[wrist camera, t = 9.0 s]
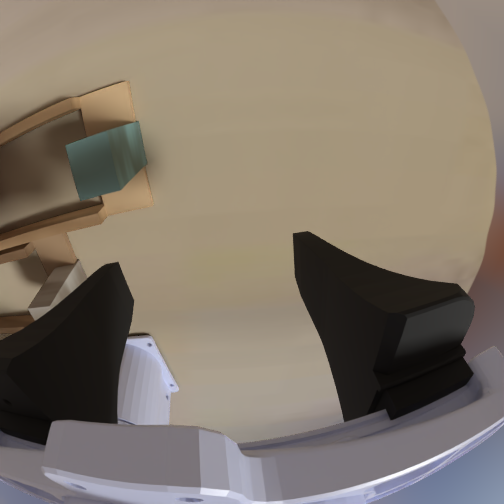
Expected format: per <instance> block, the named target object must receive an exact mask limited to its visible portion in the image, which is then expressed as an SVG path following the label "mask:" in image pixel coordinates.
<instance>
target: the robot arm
mask: <svg viewBox="0 0 504 504" xmlns="http://www.w3.org/2000/svg"><path fill="white" fill-rule="evenodd" d="M293 245H294V267H295V278H296V281H297V285H298V288H299V291H300V294H301V297H302V299H303V301H304V303H305V306H306V308H307V310H308V312H309V314H310V316H311V319H312V321H313V323H314V325H315V327H316V329H317V331H318V334H319V336H320V338H321V341H322V343H323V346H324V349H325V352H326V355H327V358H328V361H329V365H330V368H331V371H332V375H333V378H334V382H335V386H336V389H337V393H338V397H339V401H340V405H341V409H342V414H343V418H344V423H340V424H336V425H333V426H329V427H325V428H321V429H317V430H313V431H309V432H304V433H300V434H295V435H290V436H285V437H279V438H274V439H268V440H261V441H255V442H247V443H239V444H236V443H235V442H234V441H232V440H231V439H229V438H228V437H227V436H225V435H224V434H222V433H221V432H218V431H214V430H210V429H206V428H202V427H198V426H183V425H169V414H170V397H171V392H177V391H179V387H178V385H177V383H176V382H175V380H174V378H173V376H172V374H171V373H170V371H169V369H168V367H167V365H166V363H165V361H164V359H163V357H162V356H161V354H160V352H159V350H158V348H157V346H156V344H155V342H154V340H153V338H152V337H151V336H149V335H143V336H132V337H128V334H129V330H130V326H131V322H132V315H133V306H134V299H133V297H132V295H131V292H130V290H129V287H128V285H127V283H126V280H125V278H124V275H123V273H122V270H121V268H120V265H119V262H115V263H109V264H105V265H104V266H102V267H101V268H99V269H98V270H97V271H96V272H94V273H93V274H92V275H91V276H90V277H88V278H87V279H86V280H85V281H84V282H83V283H82V284H80V285H79V286H78V287H77V288H76V289H75V290H74V291H73V292H71V293H70V294H69V295H68V296H67V297H65V298H64V299H63V300H62V301H61V302H60V303H58V304H57V305H56V306H55V307H53V308H52V309H51V310H50V311H48V312H47V313H46V314H44V315H43V316H41V317H40V318H39V319H37V320H35V321H34V322H32V323H31V324H29V325H28V326H26V327H25V328H23V329H21V330H20V331H18V332H16V333H14V334H12V335H10V336H8V337H6V338H5V339H2V340H0V480H1V481H2V482H4V483H6V484H8V485H10V486H12V487H14V488H16V489H18V490H20V491H23V492H25V493H27V494H29V495H32V496H34V497H36V498H39V499H41V500H44V501H46V502H49V503H51V504H367V503H370V502H373V501H375V500H378V499H380V498H383V497H385V496H387V495H390V494H392V493H394V492H396V491H399V490H401V489H403V488H405V487H407V486H409V485H411V484H413V483H415V482H417V481H419V480H421V479H423V478H425V477H427V476H429V475H431V474H432V473H434V472H436V471H438V470H440V469H441V468H443V467H445V466H446V465H448V464H450V463H451V462H453V461H454V460H456V459H458V458H459V457H461V456H462V455H464V454H465V453H467V452H468V451H470V450H471V449H473V448H474V447H476V446H477V445H479V444H480V443H482V442H483V441H484V440H486V439H487V438H488V437H490V436H491V435H492V434H494V433H495V432H496V431H497V430H498V429H499V428H500V427H501V426H502V425H503V424H504V357H503V355H502V354H501V353H500V352H499V350H498V349H497V348H496V346H493V347H491V348H489V349H488V350H486V351H484V352H482V353H481V354H479V355H477V356H475V357H474V358H473V359H472V360H471V361H470V362H469V363H468V364H467V363H466V361H465V360H464V358H463V356H464V355H465V354H466V351H465V349H464V348H463V347H462V345H461V343H462V341H463V339H464V337H465V335H466V333H467V331H468V329H469V327H470V324H471V322H472V319H473V316H474V308H475V306H474V302H473V300H472V299H471V298H470V297H469V296H468V295H467V293H466V292H465V291H464V290H463V289H462V288H461V287H460V286H459V285H458V284H454V283H445V282H436V281H429V280H424V279H419V278H414V277H409V276H405V275H402V274H398V273H395V272H391V271H388V270H385V269H382V268H379V267H377V266H374V265H372V264H369V263H367V262H364V261H362V260H360V259H358V258H356V257H354V256H352V255H350V254H348V253H346V252H344V251H342V250H340V249H338V248H337V247H335V246H333V245H331V244H330V243H328V242H326V241H325V240H323V239H321V238H319V237H318V236H316V235H314V234H312V233H311V232H308V231H306V232H299V233H293ZM149 343H150V344H149Z"/></svg>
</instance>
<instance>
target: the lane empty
mask: <svg viewBox="0 0 504 504" xmlns="http://www.w3.org/2000/svg"><path fill="white" fill-rule="evenodd" d="M35 249H36V251H37V254H38V256H39V258H40V260H41V263H42V265H43V267H44V269H45V271H46V273H47V275H48V279H47V280H46V282H45V283H44V284H43V286H42V287H41V289H40V290H39V292H38V293H37V295H36V296H35V298H34V299H33V301H32V302H31V304H30V306H29V307H28V310H29V312H30V313H31V315H19V316H6V317H0V334H5V333H16V332H18V331H20V330H21V329H23V328H25V327H26V326H28V325H29V324H31V323H32V322H34V321H35V320H37V319H39V318H40V317H41V316H43V315H44V314H46V313H47V312H48V311H50V310H51V309H52V308H53V307H55V306H56V305H57V304H58V303H60V302H61V301H62V300H63V299H64V298H65V297H67V296H68V295H69V294H70V293H71V292H73V291H74V290H75V289H76V288H77V287H78V286H79V285H80V284H82V283H83V282H84V281H85V280H86V279H87V277H86V274H85V272H84V270H83V268H82V265H81V263H80V261H79V260H77V258H76V256H75V253H74V251H73V249H72V246H71V244H70V241H69V238H68V236H67V233H62V234H58V235H54V236H50V237H47V238H43V239H39V240H35V241H32V242H28V243H25V244H21V245H18V246H14V247H11V248H7V249H4V250H1V251H0V264H3V263H7V262H11V261H15V260H19V259H23V258H27V257H28V256H29V255H30V254H31V253H32V252H33V251H34V250H35Z"/></svg>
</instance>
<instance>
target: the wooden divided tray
mask: <svg viewBox="0 0 504 504" xmlns="http://www.w3.org/2000/svg"><path fill="white" fill-rule="evenodd" d="M80 109H81V111H82V116H83V121H84V126H85V131H86V136H87V137H86V138H83V139H81V140H78V141H75V142H73V143H70V144H68V145H65V146H66V151H67V155H68V159H69V163H70V167H71V170H72V174H73V178H74V181H75V185H76V188H77V192H78V195H79V198H80V201H82V200H86V199H89V198H93V197H97V196H102V199H103V203H104V204H100V205H96V206H92V207H88V208H85V209H81V210H77V211H74V212H70V213H66V214H63V215H59V216H56V217H53V218H49V219H46V220H43V221H39V222H36V223H33V224H30V225H27V226H24V227H21V228H17V229H15V230H12V231H9V232H6V233H3V234H0V251H1V250H4V249H7V248H11V247H14V246H18V245H21V244H25V243H28V242H32V241H35V240H39V239H43V238H47V237H50V236H54V235H58V234H62V233H66V232H70V231H74V230H78V229H82V228H87V227H91V226H95V225H99V224H102V222H103V221H104V220H105V219H106V217H107V216H110V215H114V214H118V213H123V212H127V211H132V210H137V209H141V208H146V207H151V206H153V204H154V202H153V198H152V194H151V190H150V186H149V182H148V177H147V173H146V169H145V165H146V164H147V160H146V155H145V150H144V146H143V141H142V136H141V130H140V125H139V121H137V122H136V120H135V114H134V108H133V102H132V96H131V90H130V83H129V81H124V82H121V83H118V84H115V85H112V86H109V87H106V88H103V89H100V90H97V91H94V92H92V93H89V94H86V95H84V96H81V97H75V98H68V99H66V100H64V101H61V102H59V103H57V104H55V105H52V106H50V107H48V108H46V109H44V110H42V111H40V112H38V113H36V114H34V115H32V116H30V117H28V118H26V119H24V120H22V121H20V122H19V123H17V124H15V125H13V126H11V127H10V128H8V129H6V130H5V131H3V132H1V133H0V147H1V146H3V145H5V144H7V143H8V142H10V141H12V140H14V139H16V138H18V137H20V136H22V135H24V134H25V133H27V132H29V131H31V130H34V129H36V128H38V127H40V126H42V125H44V124H46V123H48V122H51V121H53V120H55V119H58V118H60V117H62V116H65V115H67V114H69V113H72V112H74V111H77V110H80Z"/></svg>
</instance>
